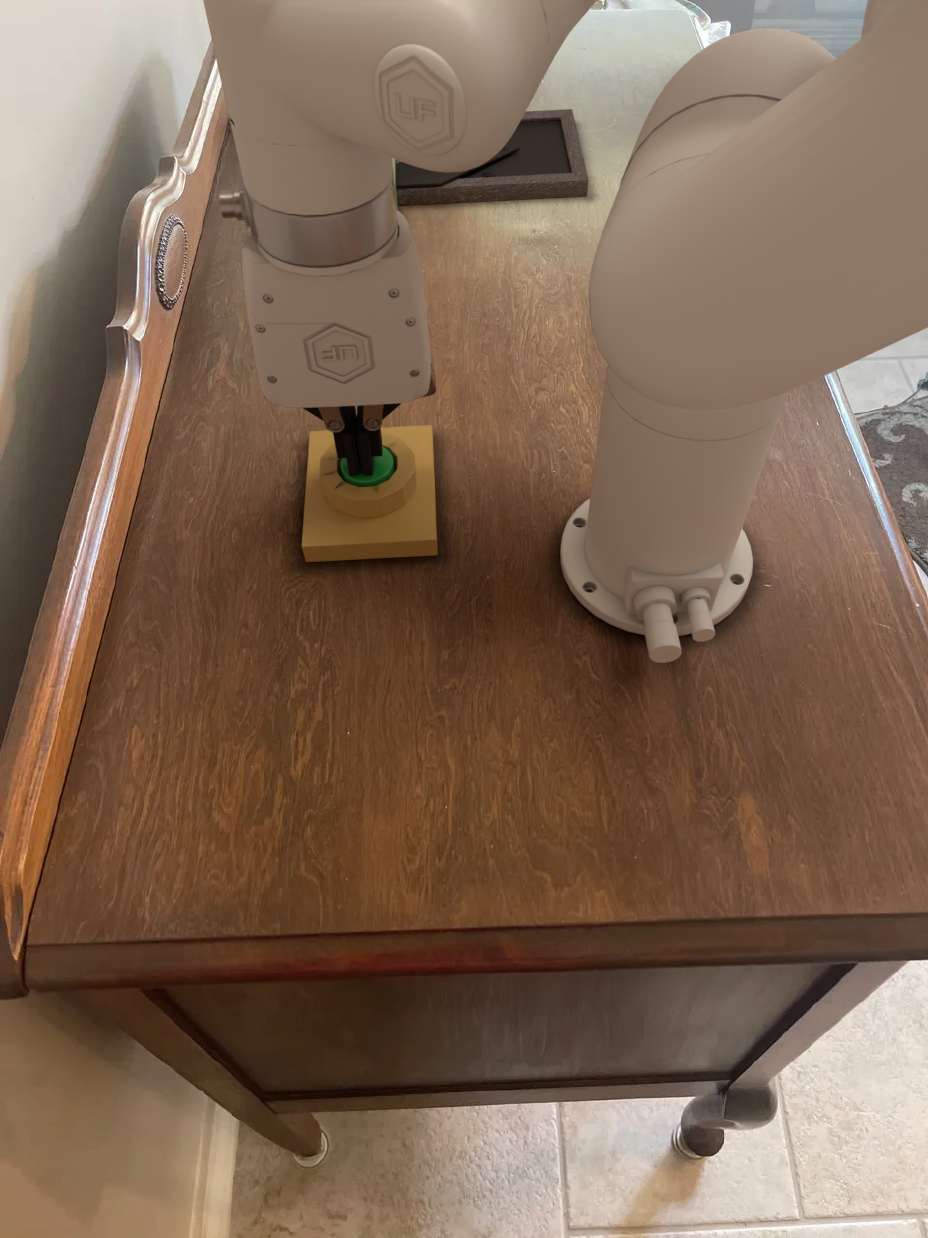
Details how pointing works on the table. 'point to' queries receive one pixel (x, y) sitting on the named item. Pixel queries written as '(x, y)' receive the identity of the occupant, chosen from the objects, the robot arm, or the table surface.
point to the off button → (381, 471)
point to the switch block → (371, 502)
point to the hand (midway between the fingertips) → (361, 460)
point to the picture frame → (509, 167)
